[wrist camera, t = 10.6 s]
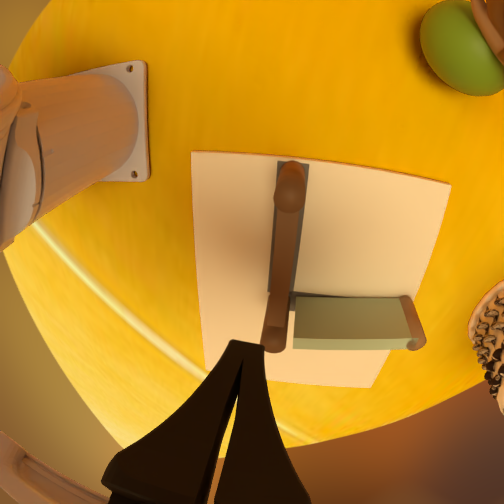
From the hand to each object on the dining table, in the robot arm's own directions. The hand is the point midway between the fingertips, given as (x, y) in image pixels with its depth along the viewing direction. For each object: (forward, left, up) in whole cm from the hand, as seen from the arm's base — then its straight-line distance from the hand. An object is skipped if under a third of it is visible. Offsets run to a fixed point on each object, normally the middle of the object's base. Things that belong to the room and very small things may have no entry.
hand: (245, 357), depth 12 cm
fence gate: (+7, -3, -9) cm, 11 cm away
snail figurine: (+10, +14, -10) cm, 20 cm away
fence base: (+1, +1, -9) cm, 9 cm away
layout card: (+3, -4, -9) cm, 11 cm away
